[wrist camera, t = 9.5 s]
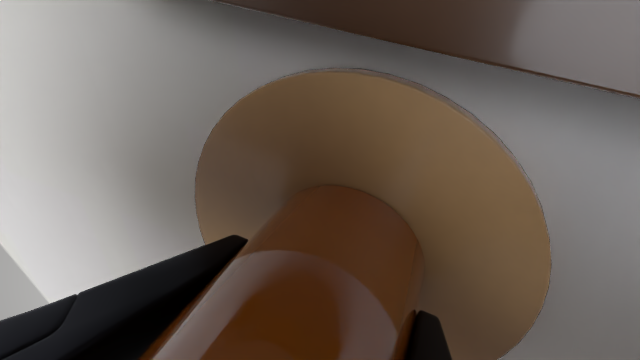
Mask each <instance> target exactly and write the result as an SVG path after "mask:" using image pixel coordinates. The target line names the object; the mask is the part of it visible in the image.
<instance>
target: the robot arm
mask: <svg viewBox="0 0 640 360" xmlns="http://www.w3.org/2000/svg"><path fill="white" fill-rule="evenodd" d="M247 241H248V239H246V238H243V237H241V236H239V235H230V236H228V237H225V238H222V239H220V240H217V241H214V242H212V243H209V244H207V245H204V246H201V247H199V248H196V249H193V250H191V251H188V252H185V253H183V254H180V255H178V256H175V257H172V258H170V259H167V260H164V261H162V262H159V263H156V264H154V265H151V266H148V267H146V268H143V269H141V270H138V271H135V272H133V273H130V274H127V275H125V276H122V277H119V278H117V279H114V280H112V281H109V282H106V283H104V284H101V285H98V286H96V287H93V288H90V289H88V290H85V291H83V292H80V293H79V294H78V295H76V294H74V295H72V296H69V297H66V298H64V299H61V300H58V301H56V302H53V303H50V304H48V305H45V306H42V307H39V308H37V309H34V310H31V311H28V312H25V313H22V314H19V315H16V316H13V317H10V318H7V319H4V320H1V321H0V360H137V359H138V358H139V357H140V356H141V354H142V353H143V352H144V351H145V350H146V349H147V348H148V347H149V346H150V345H151V344H152V343H153V342H154V341H155V339H156V338H157V337H158V336H159V335H160V334H161V333H162V332H163V331H164V330H165V329H166V328H167V327H168V326H169V325H170V323H171V322H172V321H173V320H174V319H175V318H176V317H177V316H178V315H179V314H180V313H181V312H182V311H183V310H184V309H185V307H186V306H187V305H188V304H189V303H190V302H191V301H192V300H193V299H194V298H195V297H196V296H197V295H198V294H199V293H200V291H201V290H202V289H203V288H204V287H205V286H206V285H207V284H208V283H209V282H210V281H211V280H212V279H213V278H214V277H215V275H216V274H217V273H218V272H219V271H220V270H221V269H222V268H223V267H224V266H225V265H226V264H227V263H228V262H229V260H230V259H231V258H232V257H233V256H234V255H235V254H236V253H237V252H238V251H239V250H240V249H241V248H242V247H243V246H244V244H245V243H246V242H247ZM406 360H452V357H451V354H450V350H449V347H448V344H447V341H446V338H445V335H444V332H443V329H442V326H441V322H440V320H439V318H438V317H437V316H435V315H433V314H430V313H428V312H425V311H423V310H420V311H418V313H417V315H416V319H415V323H414V328H413V332H412V336H411V341H410V345H409V350H408V354H407V358H406Z"/></svg>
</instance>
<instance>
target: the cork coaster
mask: <svg viewBox="0 0 640 360" xmlns="http://www.w3.org/2000/svg"><path fill="white" fill-rule="evenodd" d="M322 185H339V186H345V187H350V188H354V189H358V190H361V191H363V192H366V193H368V194H370V195H372V196H374V197H376V198H378V199H380V200H381V201H383V202H384V203H386V204H387V205H389V206H390V207H391V208H393V209H394V210H395V211H396V212H397V213H398V214H399V215H400V216H401V217H402V218H403V219H404V220H405V221H406V222H407V223H408V225H409V226H410V228H411V229H412V230H413V232H414V234H415V236H416V237H417V239H418V241H419V243H420V246H421V249H422V251H423V255H424V260H425V279H424V284H423V288H422V293H421V297H420V301H419V306H418V310H417V313H418V311H420V310H423V311H425V312H428V313H430V314H433V315H435V316H437V317H438V318H439V320H440V322H441V326H442V329H443V332H444V335H445V338H446V341H447V344H448V347H449V350H450V354H451V357H452V360H498V359H499V358H501V357H503V356H504V355H505V354H506V353H507V352H509V351H510V350H511V349H512V348H513V347H514V346H516V345H517V344H518V343H519V342H520V341H521V339H522V338H523V337H524V336H525V335H526V333H527V332H528V331H529V330H530V329H531V327H532V326H533V324H534V322H535V320H536V318H537V316H538V315H539V313H540V311H541V309H542V307H543V304H544V301H545V297H546V294H547V291H548V288H549V281H550V273H551V250H550V239H549V234H548V230H547V226H546V222H545V218H544V214H543V210H542V206H541V204H540V202H539V199H538V197H537V195H536V193H535V190H534V188H533V186H532V183H531V181H530V180H529V178H528V176H527V175H526V173H525V172H524V170H523V169H522V167H521V166H520V164H519V162H518V161H517V159H516V158H515V156H514V155H513V154H512V153H511V152H510V151H509V150H508V148H507V147H506V146H505V145H504V144H503V143H502V142H501V140H500V139H499V138H498V137H497V136H496V135H495V134H494V133H493V132H492V131H491V130H490V129H489V128H487V127H486V126H485V125H484V124H483V123H482V122H480V121H479V120H478V119H477V118H476V117H475V116H474V115H472V114H471V113H470V112H468V111H466V110H465V109H463V108H462V107H460V106H459V105H457V104H456V103H454V102H453V101H451V100H450V99H448V98H447V97H445V96H443V95H441V94H439V93H436V92H434V91H432V90H430V89H428V88H426V87H424V86H422V85H420V84H418V83H415V82H412V81H408V80H405V79H402V78H399V77H396V76H393V75H390V74H385V73H380V72H374V71H369V70H363V69H348V68H327V69H317V70H308V71H304V72H300V73H296V74H292V75H288V76H284V77H282V78H280V79H277V80H275V81H273V82H271V83H268V84H266V85H264V86H261V87H259V88H257V89H256V90H254V91H252V92H251V93H249V94H248V95H246V96H245V97H243V98H242V99H240V100H239V101H238V102H237V103H236V104H234V105H233V106H232V107H231V108H230V109H229V110H228V111H227V112H226V113H225V114H224V115H223V116H222V118H221V119H220V120H219V121H218V123H217V124H216V125H215V127H214V128H213V130H212V131H211V133H210V135H209V137H208V139H207V141H206V143H205V145H204V147H203V150H202V153H201V156H200V159H199V162H198V167H197V173H196V178H195V203H196V213H197V218H198V222H199V227H200V231H201V234H202V237H203V240H204V243H205V245H207V244H209V243H212V242H214V241H217V240H220V239H222V238H225V237H228V236H230V235H239V236H241V237H243V238H246V239H248V240H249V239H250V238H251V237H252V236H253V235H254V234H255V233H256V232H257V231H258V230H259V228H260V227H261V226H262V225H263V224H264V223H265V222H266V221H267V220H268V219H269V218H270V217H271V216H272V215H273V214H274V212H275V211H276V210H277V209H278V208H279V207H280V206H281V205H282V204H283V203H284V202H285V201H286V200H287V199H288V198H289V197H291V196H292V195H294V194H295V193H297V192H299V191H301V190H304V189H306V188H310V187H315V186H322Z"/></svg>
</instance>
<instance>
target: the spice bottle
mask: <svg viewBox="0 0 640 360" xmlns="http://www.w3.org/2000/svg"><path fill="white" fill-rule="evenodd" d="M424 279H425V260H424V255H423V251H422V249H421V246H420V243H419V241H418V239H417V237H416V236H415V234H414V232H413V230H412V229H411V228H410V226H409V225H408V223H407V222H406V221H405V220H404V219H403V218H402V217H401V216H400V215H399V214H398V213H397V212H396V211H395V210H394V209H393V208H391V207H390V206H389V205H387V204H386V203H384V202H383V201H381V200H380V199H378V198H376V197H374V196H372V195H370V194H368V193H366V192H363V191H361V190H358V189H354V188H350V187H345V186H339V185H322V186H315V187H310V188H306V189H304V190H301V191H299V192H297V193H295V194H294V195H292V196H291V197H289V198H288V199H287V200H286V201H285V202H284V203H283V204H282V205H281V206H280V207H279V208H278V209H277V210H276V211H275V212H274V214H273V215H272V216H271V217H270V218H269V219H268V220H267V221H266V222H265V223H264V224H263V225H262V226H261V227H260V228H259V230H258V231H257V232H256V233H255V234H254V235H253V236H252V237H251V238H250V239H249V240H248V241H247V242H246V243H245V244H244V246H243V247H242V248H241V249H240V250H239V251H238V252H237V253H236V254H235V255H234V256H233V257H232V258H231V259H230V260H229V262H228V263H227V264H226V265H225V266H224V267H223V268H222V269H221V270H220V271H219V272H218V273H217V274H216V275H215V277H214V278H213V279H212V280H211V281H210V282H209V283H208V284H207V285H206V286H205V287H204V288H203V289H202V290H201V291H200V293H199V294H198V295H197V296H196V297H195V298H194V299H193V300H192V301H191V302H190V303H189V304H188V305H187V306H186V307H185V309H184V310H183V311H182V312H181V313H180V314H179V315H178V316H177V317H176V318H175V319H174V320H173V321H172V322H171V323H170V325H169V326H168V327H167V328H166V329H165V330H164V331H163V332H162V333H161V334H160V335H159V336H158V337H157V338H156V339H155V341H154V342H153V343H152V344H151V345H150V346H149V347H148V348H147V349H146V350H145V351H144V352H143V353H142V354H141V356H140V357H139V358H138V359H137V360H406V358H407V354H408V350H409V345H410V341H411V336H412V332H413V328H414V323H415V319H416V315H417V310H418V306H419V301H420V297H421V293H422V288H423V284H424Z"/></svg>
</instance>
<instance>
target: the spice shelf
mask: <svg viewBox="0 0 640 360" xmlns="http://www.w3.org/2000/svg"><path fill="white" fill-rule="evenodd" d="M209 1H213V2H218V3H222V4H227V5H231V6H235V7H240V8H244V9H248V10H253V11H257V12H261V13H266V14H270V15H275V16H279V17H283V18H288V19H292V20H296V21H301V22H305V23H309V24H314V25H318V26H323V27H327V28H331V29H336V30H340V31H344V32H349V33H353V34H357V35H362V36H366V37H371V38H375V39H379V40H384V41H388V42H392V43H397V44H401V45H405V46H410V47H414V48H419V49H423V50H427V51H432V52H436V53H440V54H445V55H449V56H453V57H458V58H462V59H467V60H471V61H475V62H480V63H484V64H488V65H493V66H497V67H501V68H506V69H510V70H515V71H519V72H523V73H528V74H532V75H536V76H541V77H545V78H549V79H554V80H558V81H563V82H567V83H571V84H576V85H580V86H584V87H589V88H593V89H597V90H602V91H606V92H611V93H615V94H619V95H624V96H628V97H632V98H637V99H640V0H209Z"/></svg>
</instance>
